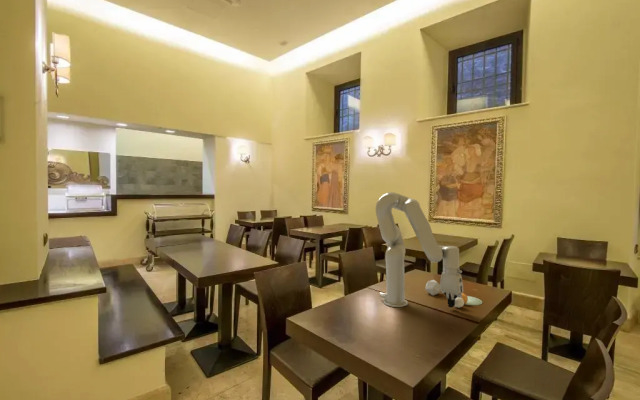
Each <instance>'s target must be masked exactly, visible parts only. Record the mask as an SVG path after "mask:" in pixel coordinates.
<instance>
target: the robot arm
mask: <svg viewBox="0 0 640 400" xmlns="http://www.w3.org/2000/svg"><path fill="white" fill-rule="evenodd" d="M393 209H395V210H397V211H400V212H403V213H404V214H405V216H406V218H407V220H408V222H409V224H410V225H411V226H410V227H411V228H412V230H413V232H414V234H415V237H416V238H417V240H418V241H419V244H420V246H421V248H422V250H423V252H424V254H425V256H426V257H427V259H428V261H430V262H432V263H439V262H441V261H442V272H441V276H440V281H439V282H440V283H439V284H440V293H442V294H443V295H444V296H445V297H446V299H447V306H448V308H454V307H455V299H456V298H461V297H462V293H464V283H463V277H462V273H463V271H462V270H461V269H460V248H459V247H458V246H456V245H455V246H454V245H440V244H438V242H437V240H436V238H435V236H434V233H433V231H432V227H431V225H430V223H429V220H428V219H427V217H426V215H425V213H424V212H423V210H422V208H421V205H420V202H419V201H418V200H417V199H413V198H411V197H408V196H405V195H402V194H399V193H396V192H393V191H390V192H386V193H384V194H382V195H381V196H380V197H379V198H378V200H377V202H376V204H375V216H376V218H377V223H378V228H379V231H380V235H381V238H382V240H383V241H384V242H386V247H387V248H386V251H385V253H384V257H385V276H386V281H385V284H386V288H385V290H386V293H385V292H379V297H380V298H383V304H385V305H386V306H388V307H393V308H403V307H407V306H408V300H407V299H405V255H406V246H405V243H404V239H403V236H402V232H401V230H400V227H398V226H397V224H396V223H395V218H394V216H393V213H392V211H393Z"/></svg>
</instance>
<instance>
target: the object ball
mask: <svg viewBox="0 0 640 400" xmlns="http://www.w3.org/2000/svg"><path fill="white" fill-rule="evenodd" d="M467 296H468V295H467V294H466V293H464V292H463V293H462V297H461V298H462V299H463V300H464V305H466V304H465V303H466V302H467V301H468V297H467Z"/></svg>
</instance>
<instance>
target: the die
mask: <svg viewBox="0 0 640 400" xmlns="http://www.w3.org/2000/svg"><path fill="white" fill-rule="evenodd" d="M424 289H425V291H426V292H427V293H428V294H430V295H431V296H435V295H438V294H439V293H441V289H440V283H439V282H437V281H436V280H435V279H431V280H428V281H427V282H426V284H425V288H424Z"/></svg>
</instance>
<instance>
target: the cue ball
mask: <svg viewBox="0 0 640 400" xmlns="http://www.w3.org/2000/svg"><path fill="white" fill-rule="evenodd" d="M464 305H465V304H464V300H463V299H462V298H456V299H455V306H454V307H456V308H459V309H460V308H462V307H463V306H464Z"/></svg>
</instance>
